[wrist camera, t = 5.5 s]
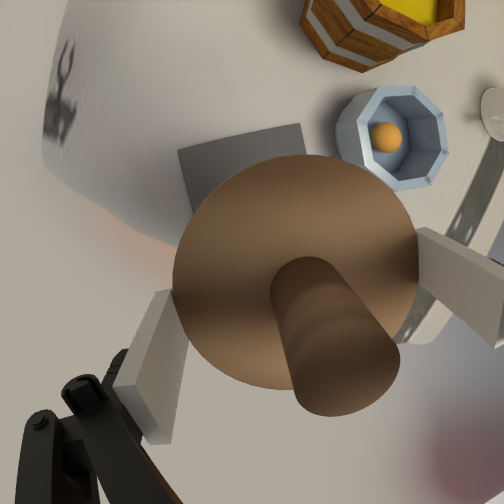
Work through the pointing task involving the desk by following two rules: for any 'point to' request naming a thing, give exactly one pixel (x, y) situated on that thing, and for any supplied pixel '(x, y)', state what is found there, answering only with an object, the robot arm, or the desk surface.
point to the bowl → (412, 130)
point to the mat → (234, 157)
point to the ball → (386, 137)
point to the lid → (300, 280)
